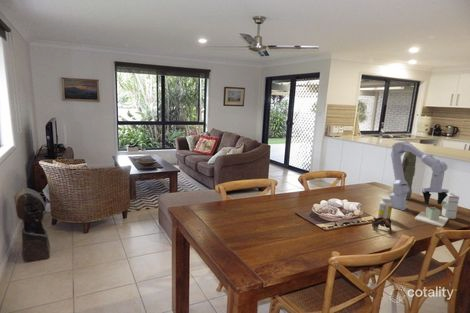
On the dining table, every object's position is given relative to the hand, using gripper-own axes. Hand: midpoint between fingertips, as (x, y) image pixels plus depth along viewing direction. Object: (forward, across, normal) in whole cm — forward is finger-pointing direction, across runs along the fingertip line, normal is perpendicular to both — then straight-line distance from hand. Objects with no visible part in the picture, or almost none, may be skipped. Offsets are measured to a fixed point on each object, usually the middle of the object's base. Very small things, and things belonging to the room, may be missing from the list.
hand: (432, 203), depth 172 cm
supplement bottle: (+10, -30, -3) cm, 31 cm away
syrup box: (+10, +14, +4) cm, 17 cm away
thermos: (+10, +6, +38) cm, 40 cm away
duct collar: (+8, 0, -2) cm, 9 cm away
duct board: (+9, 0, -2) cm, 10 cm away
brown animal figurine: (+10, -38, -19) cm, 44 cm away
